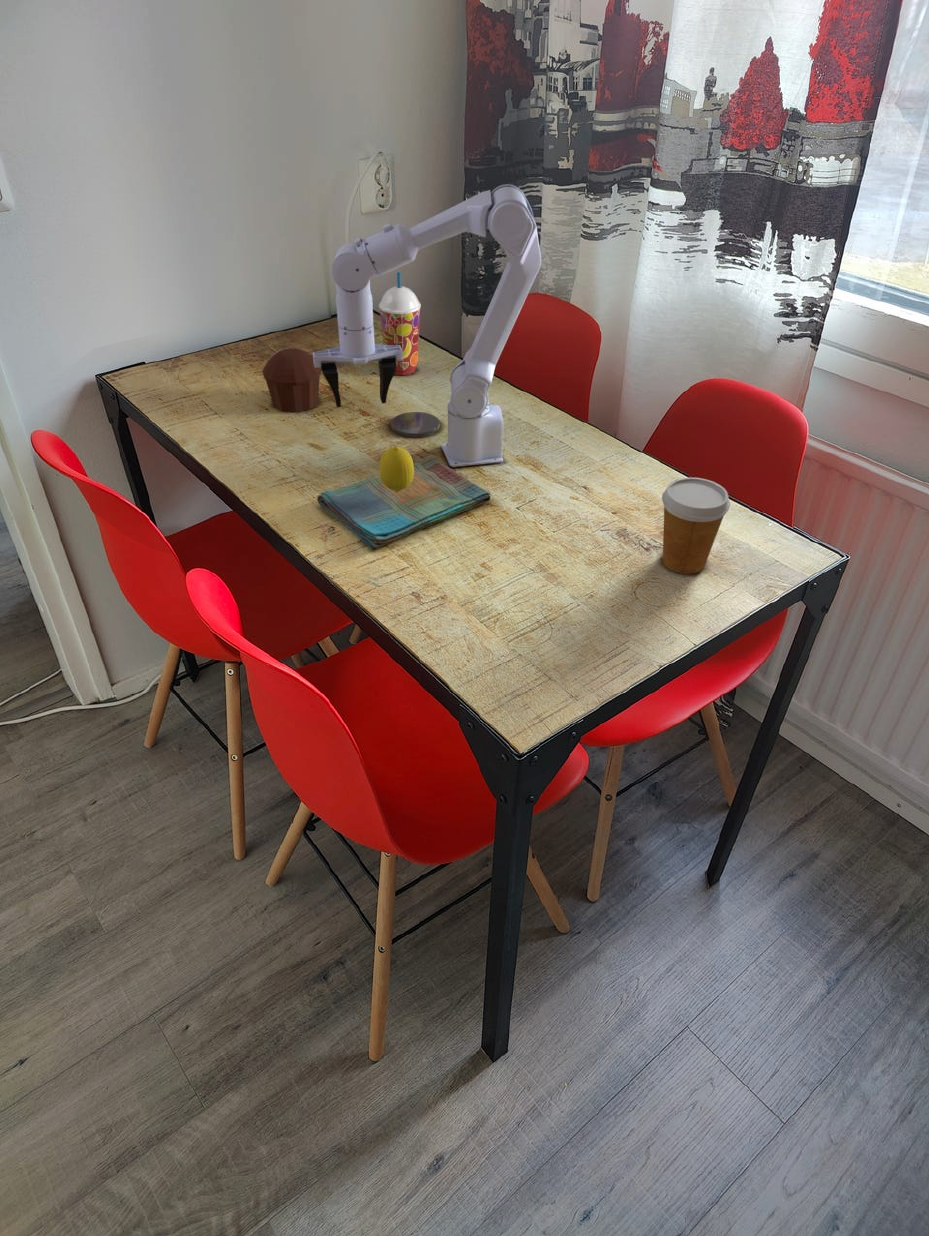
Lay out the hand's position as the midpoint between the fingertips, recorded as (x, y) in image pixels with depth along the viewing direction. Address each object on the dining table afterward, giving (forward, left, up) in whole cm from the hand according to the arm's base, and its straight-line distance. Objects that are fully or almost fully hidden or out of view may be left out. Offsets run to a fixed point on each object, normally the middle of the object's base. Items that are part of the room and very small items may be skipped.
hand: (360, 402), depth 153 cm
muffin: (+10, -24, -10) cm, 28 cm away
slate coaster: (-11, -9, -10) cm, 17 cm away
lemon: (-3, +18, -8) cm, 20 cm away
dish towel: (-4, +18, -10) cm, 21 cm away
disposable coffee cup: (-42, +43, -10) cm, 61 cm away
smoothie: (-13, -35, -10) cm, 39 cm away
